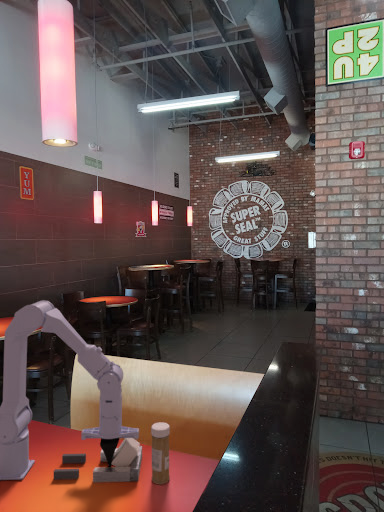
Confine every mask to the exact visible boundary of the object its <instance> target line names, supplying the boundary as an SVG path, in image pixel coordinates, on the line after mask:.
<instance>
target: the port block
mask: <svg viewBox="0 0 384 512" xmlns="http://www.w3.org/2000/svg"><path fill="white" fill-rule="evenodd" d="M118 448H119V447H116V449H115V452H116V451H117V449H118ZM115 452H114V454H115ZM99 454H100V455H99V457H100V461H99V462H101V463H102V462H104V463H106V462H107V459H106V456H105V454H104V452H103V450H102V449H101V451H100V453H99ZM113 457H114V455H113ZM142 460H143V446H142V445H139V450H138V454H137V455H136V457H135V458H134V459H133V461H132V462H131V464H130V465H129V467H115V466H111V467H108V466H107V467H106V466H101V467H94V469H93V471H92V483H113V482H114V483H119V482H121V483H123V482H125V483H126V482H139V478H140V472H141V466H142Z"/></svg>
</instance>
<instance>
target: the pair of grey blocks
mask: <svg viewBox="0 0 384 512" xmlns="http://www.w3.org/2000/svg"><path fill="white" fill-rule="evenodd" d="M61 456H62V457H61V458H62V459H61V462H62V465H63V464H86V462H87V453H63V454H62V455H61ZM79 478H80V468H55V469H54V470H53V480H56V481H57V480H78V479H79Z"/></svg>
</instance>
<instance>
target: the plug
mask: <svg viewBox="0 0 384 512" xmlns="http://www.w3.org/2000/svg"><path fill="white" fill-rule="evenodd" d="M123 439H124V440H122V442H121V443H120V445H119V447H117V448H118V449H117V451H116V452H115V454H114V457H113V460H112V463H111V464H112V465H113V467H130V466H131V462H132V461H133V459H134V458H135V457H136V455H137V454H138V450H139V446H141V445H140V444H141V442H140V441H139V442H138V440H137V439H134V438H123Z"/></svg>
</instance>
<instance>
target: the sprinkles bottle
mask: <svg viewBox="0 0 384 512" xmlns="http://www.w3.org/2000/svg"><path fill="white" fill-rule="evenodd" d="M170 427H171V426H170V424H168V423H167V422H159V421H158V422H155V423H153V424H152V425H151V428H150V431H151V432H150V434H151V481H152V482H153V483H154V484H156V485H164V484H167V483H168V482H169V481H170V479H171V477H170V434H171V433H170V431H171V429H170Z"/></svg>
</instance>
